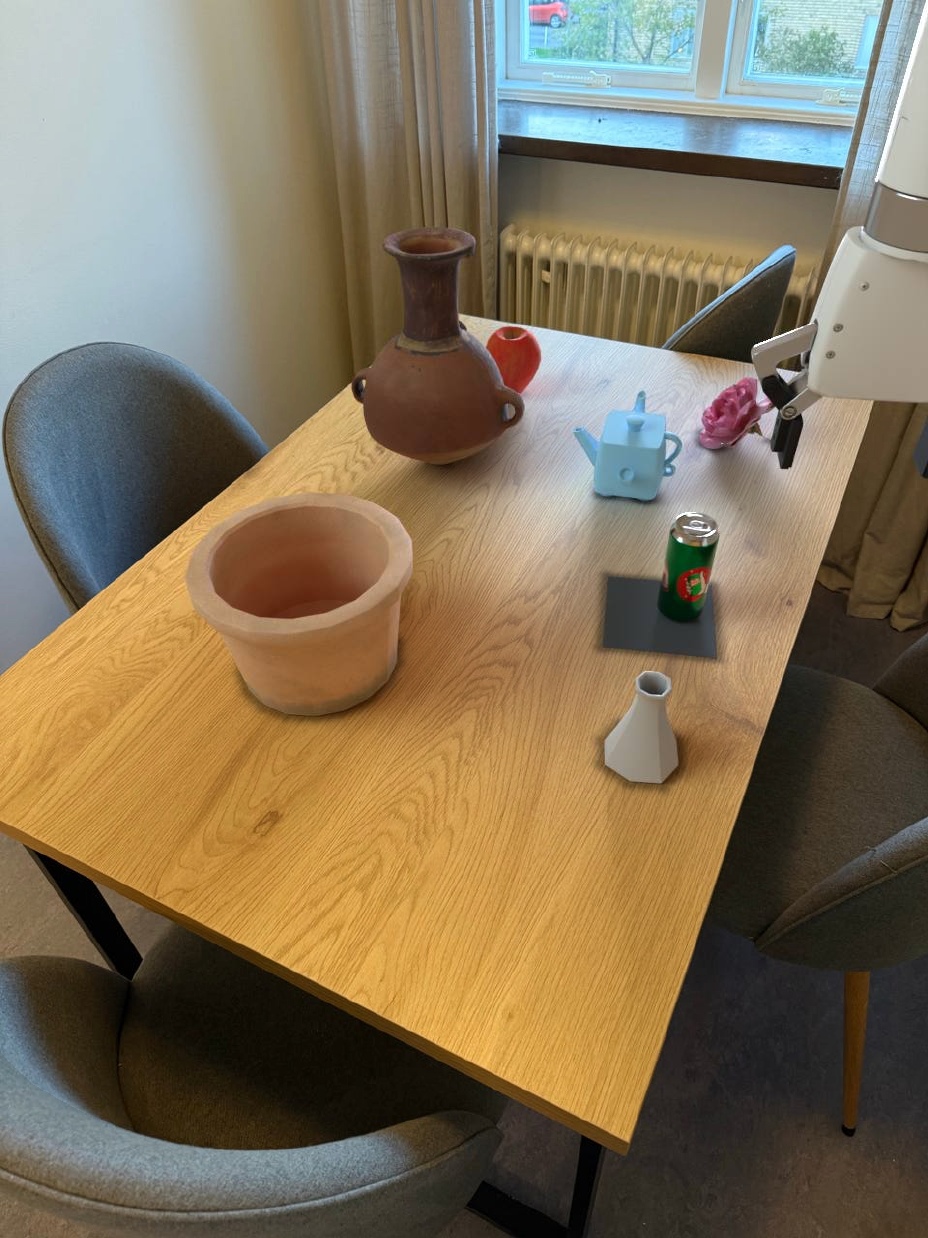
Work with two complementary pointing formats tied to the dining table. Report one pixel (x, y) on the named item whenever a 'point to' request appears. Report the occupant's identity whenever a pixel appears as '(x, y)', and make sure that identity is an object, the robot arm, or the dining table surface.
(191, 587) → the pottery
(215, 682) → the dining table surface
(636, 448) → the teapot
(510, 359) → the apple
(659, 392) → the dining table surface
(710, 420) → the flower
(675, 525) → the soda can
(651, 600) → the mat
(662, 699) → the flask
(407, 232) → the vase
